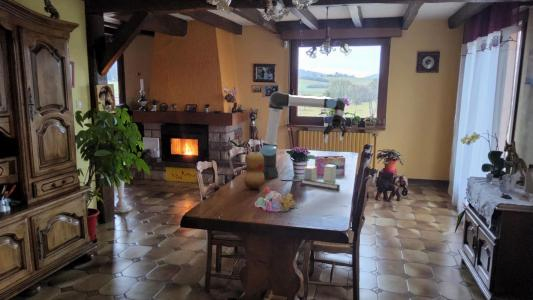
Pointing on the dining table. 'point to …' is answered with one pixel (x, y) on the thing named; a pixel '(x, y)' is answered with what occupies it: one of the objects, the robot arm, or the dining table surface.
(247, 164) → the butternut squash
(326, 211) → the dining table surface
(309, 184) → the price rail
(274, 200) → the pastel sphere sculpture
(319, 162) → the gum box
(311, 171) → the oat carton
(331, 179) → the tea carton
